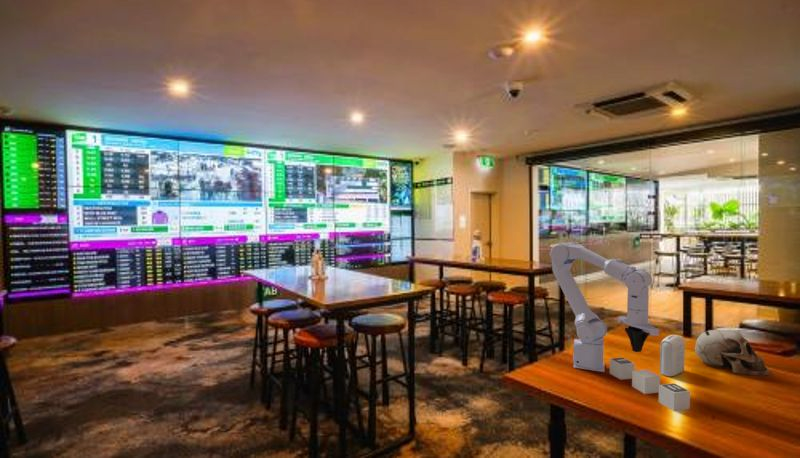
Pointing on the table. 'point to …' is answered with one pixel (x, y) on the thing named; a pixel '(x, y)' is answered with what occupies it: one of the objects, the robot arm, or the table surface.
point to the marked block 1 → (621, 368)
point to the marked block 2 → (674, 397)
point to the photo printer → (672, 355)
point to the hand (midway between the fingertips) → (636, 351)
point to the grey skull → (729, 352)
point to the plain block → (645, 381)
